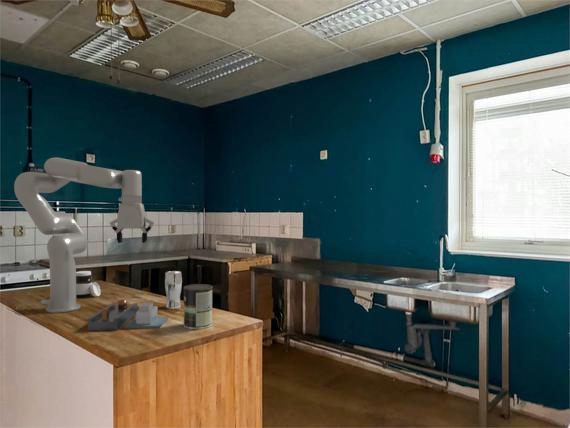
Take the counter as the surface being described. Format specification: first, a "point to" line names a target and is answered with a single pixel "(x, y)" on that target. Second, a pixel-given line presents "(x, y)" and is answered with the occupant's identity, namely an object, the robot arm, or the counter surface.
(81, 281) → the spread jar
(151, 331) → the counter surface
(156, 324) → the mat
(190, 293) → the coffee can
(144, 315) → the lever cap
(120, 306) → the body
